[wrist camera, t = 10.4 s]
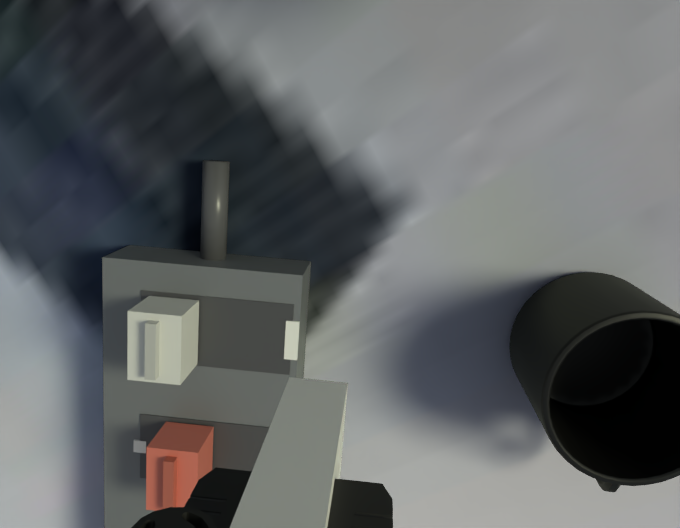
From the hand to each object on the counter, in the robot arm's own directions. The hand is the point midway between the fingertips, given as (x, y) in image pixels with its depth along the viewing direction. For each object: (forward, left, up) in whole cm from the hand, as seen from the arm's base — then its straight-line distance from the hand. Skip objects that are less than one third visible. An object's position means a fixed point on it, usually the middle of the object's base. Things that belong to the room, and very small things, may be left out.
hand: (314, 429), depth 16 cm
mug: (+6, +15, -25) cm, 29 cm away
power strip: (+10, -9, -24) cm, 28 cm away
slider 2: (+13, -9, -20) cm, 26 cm away
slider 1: (+5, -10, -20) cm, 23 cm away
